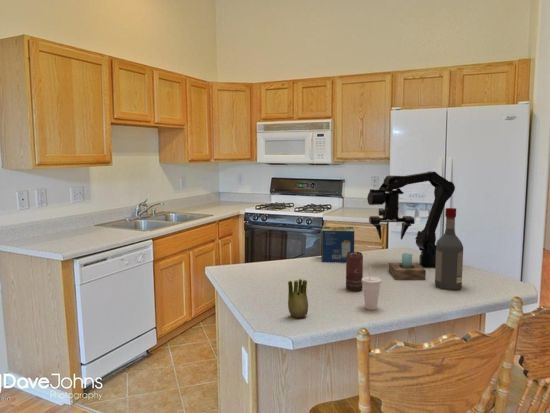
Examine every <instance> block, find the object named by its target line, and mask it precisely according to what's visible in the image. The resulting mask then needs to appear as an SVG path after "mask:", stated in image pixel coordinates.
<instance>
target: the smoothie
mask: <svg viewBox="0 0 550 413" xmlns="http://www.w3.org/2000/svg"><path fill="white" fill-rule="evenodd" d="M371 273H372V266H368V276H363V278H362V283H363V288H362V290H363V297H364V298H363V300H364V308H365V309H366V310H373V311H374V310H377V308H378V301H379V294H380V287H381V285H382V279H381V278H379V277H376V276H372V274H371Z"/></svg>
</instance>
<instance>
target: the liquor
mask: <svg viewBox="0 0 550 413" xmlns="http://www.w3.org/2000/svg"><path fill="white" fill-rule="evenodd" d="M444 213H445V231H444V233H443V234H442V235H441V236H440V238H438V239H437V240H436V242H435V245H436V266H435V267H434V269H435V271H434V285H435V287H436V288H437V289H440V290H447V291H459V290H461V288H462V285H463V264H464V245H463V243H462V241H461V239H460V238H459V237H458V236H457V235H456V230H455V228H456V227H455V226H456V218H457V208H456V207H454V208H453V207H446V208H445V212H444Z"/></svg>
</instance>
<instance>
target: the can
mask: <svg viewBox="0 0 550 413" xmlns="http://www.w3.org/2000/svg"><path fill="white" fill-rule="evenodd" d="M362 278H364V255H363V253H362V252H361V251H355V250H354V252H348V253H347V255H346V263H345V288H346V290H347V291H350V292H355V293H357V292H361V291H362V290H363V283H362Z"/></svg>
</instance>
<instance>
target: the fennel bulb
mask: <svg viewBox="0 0 550 413" xmlns="http://www.w3.org/2000/svg"><path fill="white" fill-rule="evenodd" d="M307 283H308V280H307V279H302V278H298V280H297V279H296V280H294V281H292V280H288V281H287V286H288V298H287V305H288V306H287V307H288V313H289V314H290V316H291V317H294V318H297V319H302V318H305V317H306V316H307V315H308V311H309V301H308V300H309V299H308V295H307V285H308V284H307Z"/></svg>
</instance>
